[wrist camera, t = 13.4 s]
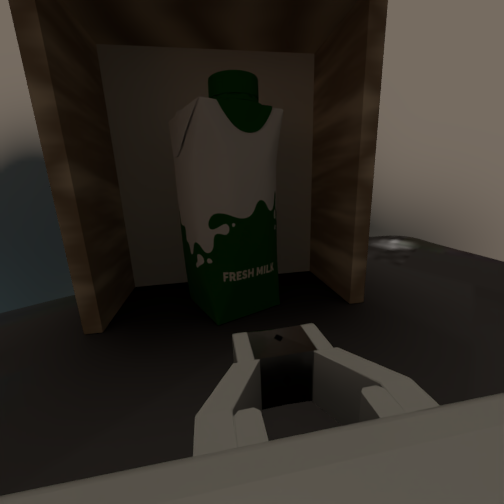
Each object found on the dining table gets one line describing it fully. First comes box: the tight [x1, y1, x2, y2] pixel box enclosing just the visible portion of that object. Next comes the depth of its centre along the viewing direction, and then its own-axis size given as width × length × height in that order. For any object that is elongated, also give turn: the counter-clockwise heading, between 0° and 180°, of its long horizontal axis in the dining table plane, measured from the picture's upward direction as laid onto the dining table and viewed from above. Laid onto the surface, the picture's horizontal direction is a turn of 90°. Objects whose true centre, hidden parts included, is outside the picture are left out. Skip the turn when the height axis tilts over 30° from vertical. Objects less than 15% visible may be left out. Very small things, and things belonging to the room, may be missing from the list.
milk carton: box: [168, 70, 283, 325], centre depth 25 cm, size 9×9×20 cm
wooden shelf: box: [8, 0, 388, 334], centre depth 23 cm, size 26×18×28 cm
